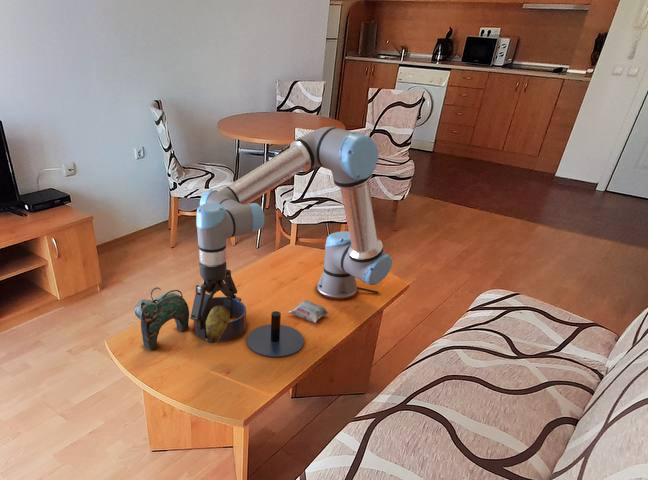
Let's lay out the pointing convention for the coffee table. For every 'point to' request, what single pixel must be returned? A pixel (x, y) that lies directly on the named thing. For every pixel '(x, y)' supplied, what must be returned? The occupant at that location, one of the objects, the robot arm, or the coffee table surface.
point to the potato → (217, 323)
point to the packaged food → (309, 311)
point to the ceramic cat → (161, 315)
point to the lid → (275, 339)
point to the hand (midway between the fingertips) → (215, 326)
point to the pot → (233, 326)
